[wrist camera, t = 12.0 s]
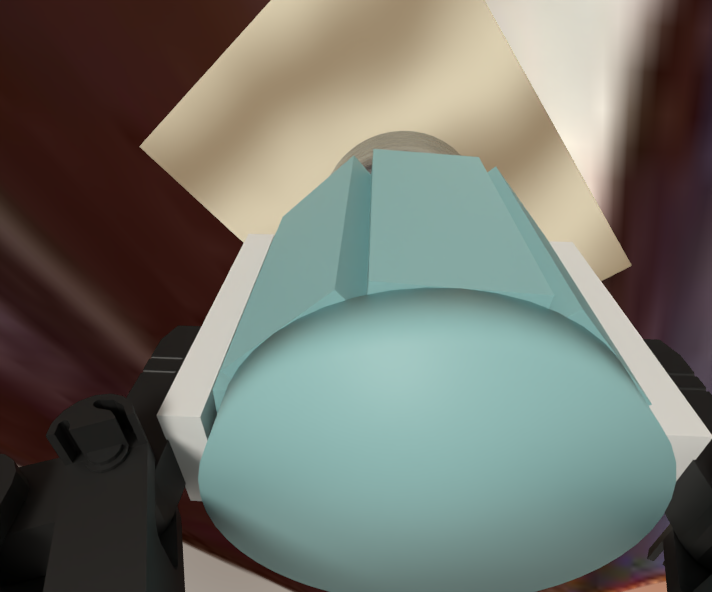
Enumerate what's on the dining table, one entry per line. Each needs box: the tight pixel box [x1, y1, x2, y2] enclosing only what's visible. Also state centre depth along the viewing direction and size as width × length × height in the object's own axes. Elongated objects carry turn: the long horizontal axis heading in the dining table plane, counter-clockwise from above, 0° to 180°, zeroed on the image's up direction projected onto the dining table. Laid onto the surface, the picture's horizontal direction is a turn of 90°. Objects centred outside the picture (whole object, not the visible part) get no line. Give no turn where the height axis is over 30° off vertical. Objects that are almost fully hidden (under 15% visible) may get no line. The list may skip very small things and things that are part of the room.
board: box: [139, 0, 632, 281], centre depth 18 cm, size 16×12×2 cm
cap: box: [198, 149, 676, 592], centre depth 10 cm, size 8×8×7 cm
